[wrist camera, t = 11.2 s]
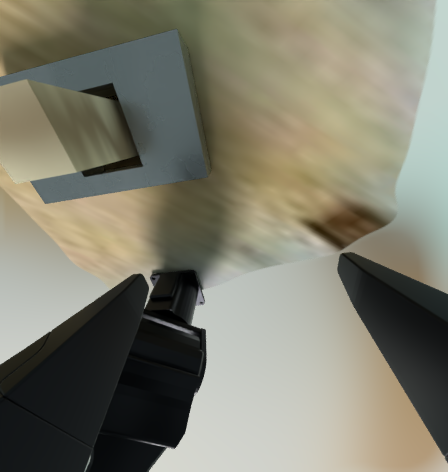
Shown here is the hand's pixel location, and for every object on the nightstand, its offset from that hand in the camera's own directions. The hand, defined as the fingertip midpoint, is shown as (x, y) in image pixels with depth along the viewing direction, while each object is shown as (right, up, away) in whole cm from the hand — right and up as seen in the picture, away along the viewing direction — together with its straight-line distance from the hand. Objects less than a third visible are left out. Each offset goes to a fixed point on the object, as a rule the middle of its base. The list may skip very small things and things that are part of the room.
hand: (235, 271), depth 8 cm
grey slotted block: (-10, +11, +9) cm, 17 cm away
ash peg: (-10, +11, +9) cm, 17 cm away
